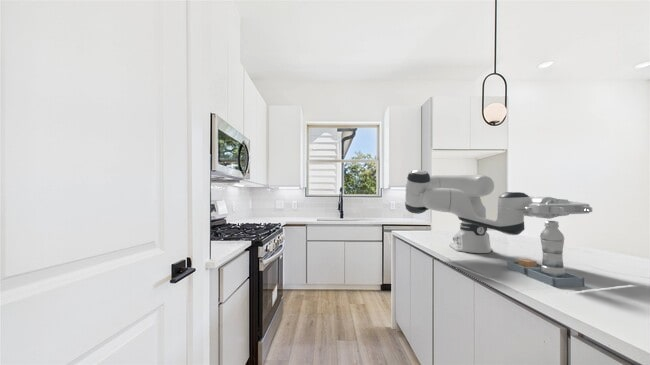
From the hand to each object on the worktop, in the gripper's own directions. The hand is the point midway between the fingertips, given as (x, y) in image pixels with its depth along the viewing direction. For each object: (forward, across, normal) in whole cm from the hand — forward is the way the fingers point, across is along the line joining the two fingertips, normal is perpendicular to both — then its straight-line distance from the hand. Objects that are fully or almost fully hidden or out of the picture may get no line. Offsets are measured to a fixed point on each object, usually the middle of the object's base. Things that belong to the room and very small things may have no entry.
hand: (578, 209), depth 100 cm
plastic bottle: (+4, -14, +24) cm, 28 cm away
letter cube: (-7, -14, +23) cm, 28 cm away
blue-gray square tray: (-7, -14, +24) cm, 29 cm away
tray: (+5, -14, +24) cm, 28 cm away
